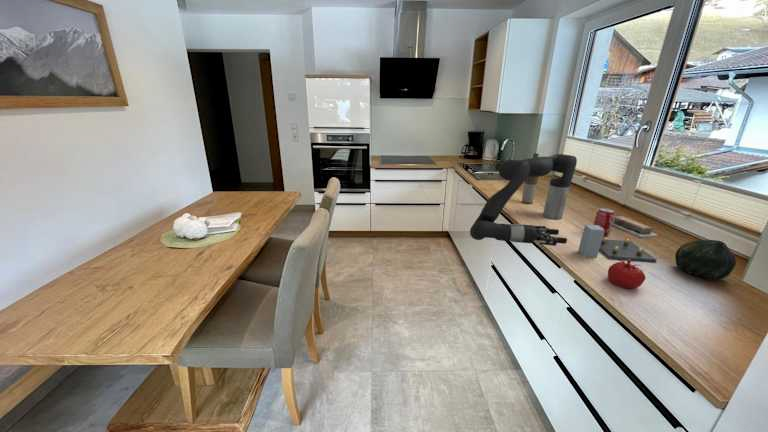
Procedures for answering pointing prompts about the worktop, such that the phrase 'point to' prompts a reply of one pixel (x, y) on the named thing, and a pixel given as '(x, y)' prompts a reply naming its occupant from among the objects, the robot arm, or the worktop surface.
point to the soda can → (605, 219)
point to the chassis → (624, 250)
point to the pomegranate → (626, 275)
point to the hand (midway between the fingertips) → (562, 236)
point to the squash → (706, 259)
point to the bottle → (529, 187)
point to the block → (591, 240)
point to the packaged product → (633, 227)
